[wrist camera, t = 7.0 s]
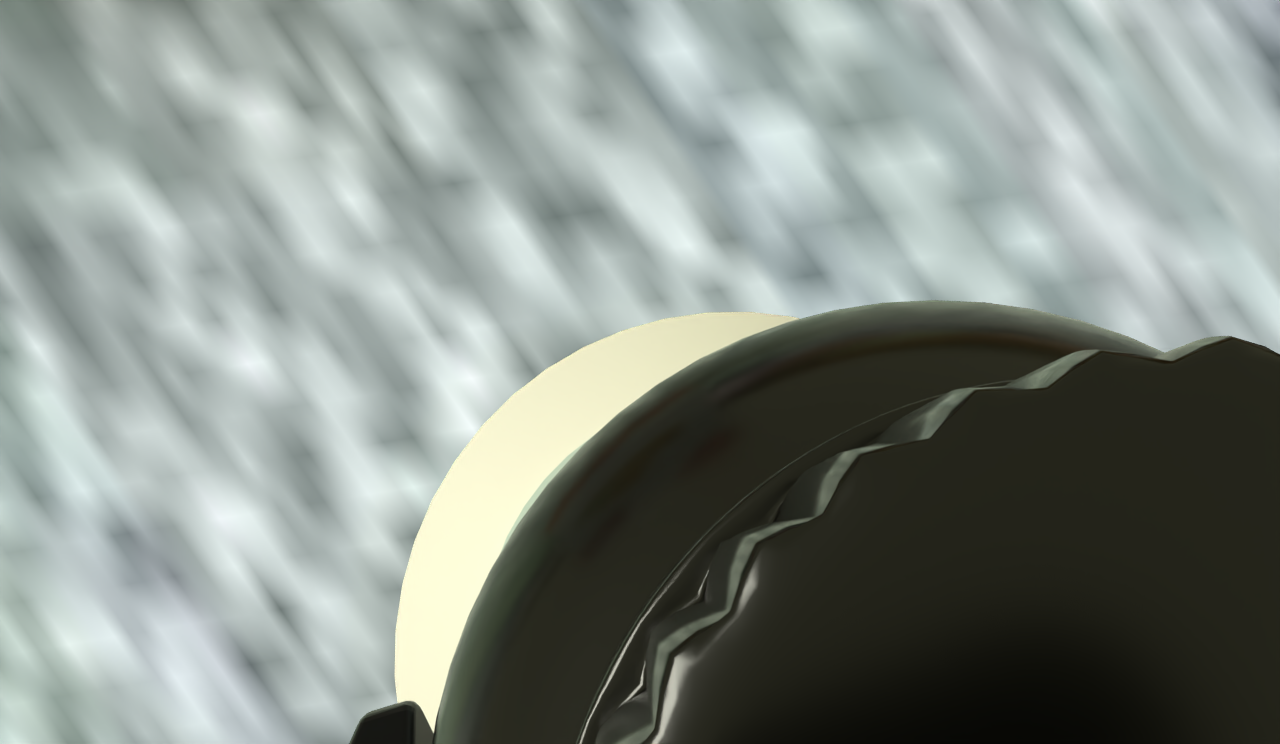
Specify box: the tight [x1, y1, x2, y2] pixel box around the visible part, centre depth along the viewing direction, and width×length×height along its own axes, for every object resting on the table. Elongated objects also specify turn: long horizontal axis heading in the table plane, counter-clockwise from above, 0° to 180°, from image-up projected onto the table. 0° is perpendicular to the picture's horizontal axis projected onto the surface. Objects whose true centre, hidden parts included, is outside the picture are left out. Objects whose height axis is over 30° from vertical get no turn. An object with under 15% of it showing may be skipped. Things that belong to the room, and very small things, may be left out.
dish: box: [395, 312, 799, 733], centre depth 20 cm, size 12×12×1 cm
